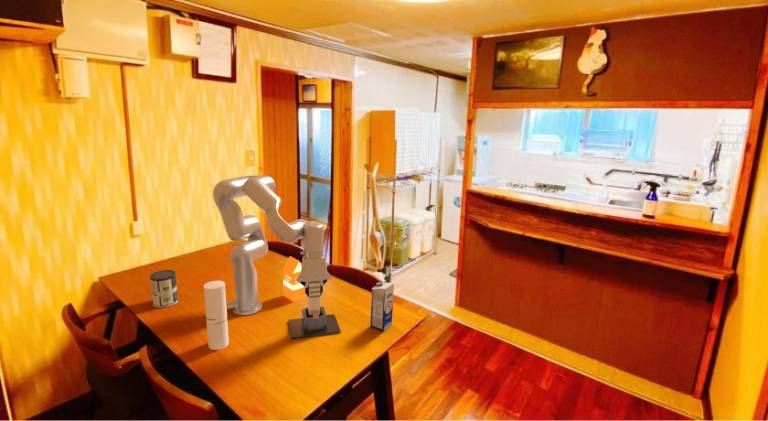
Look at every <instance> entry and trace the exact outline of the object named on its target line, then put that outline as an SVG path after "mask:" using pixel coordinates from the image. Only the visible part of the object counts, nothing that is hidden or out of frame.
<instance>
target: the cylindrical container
mask: <svg viewBox="0 0 768 421" xmlns="http://www.w3.org/2000/svg"><path fill="white" fill-rule="evenodd" d="M203 295H204V306H205V319H206V330H207V344H208V348H209V349H210V350H214V351H218V350H223V349H225V348H226V347H228V345H229V340H230V339H229V327H228V326H229V325H228V312H227V306H226V302H227V296H226V283H225V281H223V280H212V281H208V282H206V283H204V284H203Z"/></svg>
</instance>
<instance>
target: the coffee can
mask: <svg viewBox="0 0 768 421" xmlns="http://www.w3.org/2000/svg"><path fill="white" fill-rule="evenodd" d="M149 281H150V291H151V295H152V296H151V297H152V305H153V307H155V308H159V309H160V308H167V307H171V306H174V305H175V304H177V303H178V302H179V297H178V296H179V295H178V286H177V277H176V271H175V270H172V269H163V270H158V271H154V272H152V273H151V274H150V275H149Z"/></svg>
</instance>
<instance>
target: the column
mask: <svg viewBox="0 0 768 421" xmlns="http://www.w3.org/2000/svg"><path fill="white" fill-rule="evenodd" d="M308 287H309V297H307V308H308V312H309V315H312V313H318V314H320V307H321V296H320V281H315V282H309V284H308Z"/></svg>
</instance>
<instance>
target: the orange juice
mask: <svg viewBox="0 0 768 421" xmlns="http://www.w3.org/2000/svg"><path fill="white" fill-rule="evenodd" d="M301 265H302V262H300V260H299V259H296V258H294V257H292V256H290V255H289V257H288V259H287V261H286V263H285V264H284V266H283V269H282V272H283V274H282V275H283V276H282V278H283V282H282V284H283V297H285V298H286V299H288V300H290V301H291V302H292V303H295V302H297V301H300V300H304V299H308V297H307V294H305V287H304V286H303V285H302V284H301V283H299V282H297V281H296V279H297V277H298V276H299V274H300V273H301ZM301 280H302V278H301Z"/></svg>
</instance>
